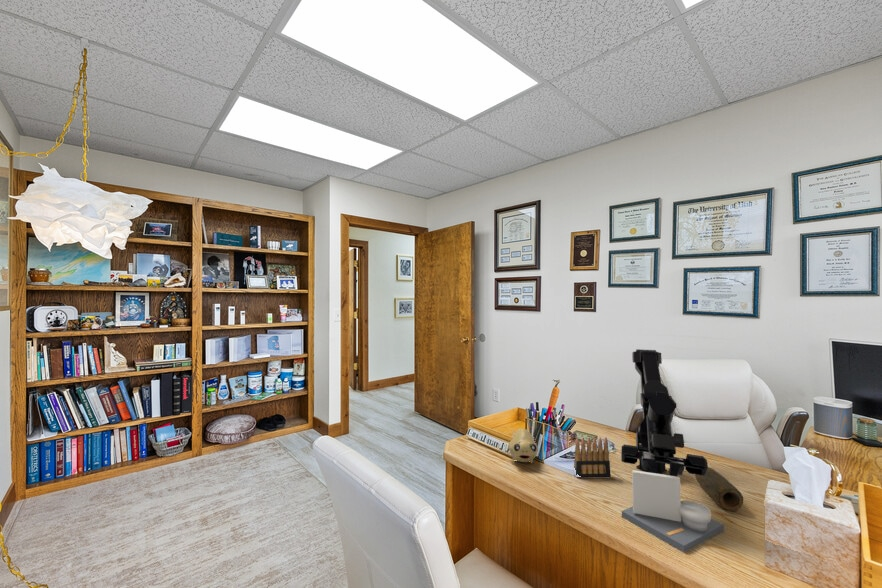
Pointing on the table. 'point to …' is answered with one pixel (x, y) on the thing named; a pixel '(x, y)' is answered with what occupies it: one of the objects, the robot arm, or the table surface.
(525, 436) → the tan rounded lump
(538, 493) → the table surface
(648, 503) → the white piece
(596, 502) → the table surface
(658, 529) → the base board
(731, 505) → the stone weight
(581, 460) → the ammunition clip
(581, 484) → the table surface
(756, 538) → the table surface
